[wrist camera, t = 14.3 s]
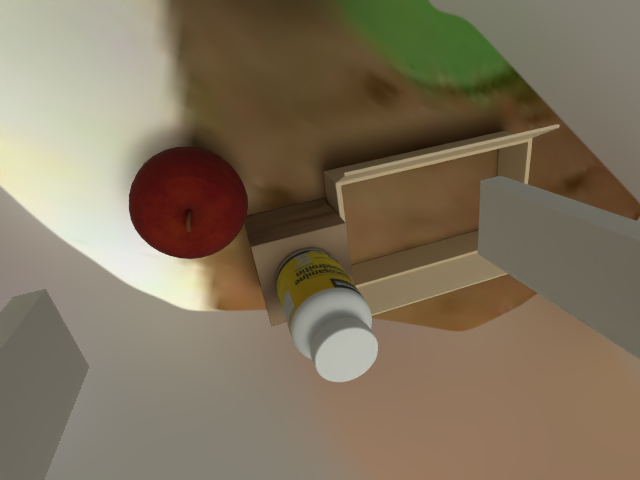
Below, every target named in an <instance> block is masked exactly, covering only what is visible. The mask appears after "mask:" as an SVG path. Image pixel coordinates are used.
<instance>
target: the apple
mask: <svg viewBox="0 0 640 480" xmlns="http://www.w3.org/2000/svg"><path fill="white" fill-rule="evenodd" d="M247 209H248V199H247V194H246V190H245V187H244V185H243V182H242V181H241V179H240V177H239V175H238V174H237V172H236V171H235V170H234V169H233V168H232V167H231V165H229V164H228V163H227V162H226V161H225V160H223V159H222V158H221V157H219V156H218V155H216V154H214V153H212V152H210V151H207V150H204V149H200V148H194V147H176V148H172V149H168V150H165V151H163V152H161V153H159V154H157V155H155V156H153V157H152V158H151V159H149V160H148V161H147V162H145V164H144V165H143V166H142V167H141V169H140V170H139V171H138V173H137V175H136V177H135V179H134V181H133V183H132V185H131V190H130V194H129V212H130V216H131V221H132V223H133V225H134V227H135V229H136V231H137V232H138V233H139V235H140V236H141V237H142V239H143V240H145V241H146V242H147V243H148V244H149V245H150V246H152V247H153V248H155V249H156V250H158V251H160V252H162V253H164V254H167V255H169V256H173V257H178V258H186V259H194V258H202V257H205V256H209V255H212V254H214V253H216V252H218V251H220V250H222V249H223V248H224V247H226V246H227V245H228V244H230V243H231V242H232V241H233V239H234V238H235V237H236V236H237V235H238V233H239V232H240V230H241V229H242V226H243V224H244V221H245V219H246V215H247Z"/></svg>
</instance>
